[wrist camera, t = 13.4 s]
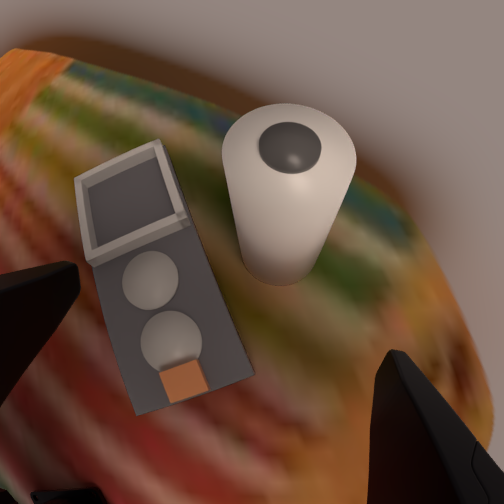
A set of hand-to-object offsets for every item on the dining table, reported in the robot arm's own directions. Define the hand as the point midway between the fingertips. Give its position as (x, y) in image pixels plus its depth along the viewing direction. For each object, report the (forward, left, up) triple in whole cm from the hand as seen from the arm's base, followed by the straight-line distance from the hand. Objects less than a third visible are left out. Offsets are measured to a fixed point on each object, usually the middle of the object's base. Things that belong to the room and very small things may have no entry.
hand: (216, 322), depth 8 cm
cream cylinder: (+4, +4, -9) cm, 11 cm away
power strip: (-3, +6, -9) cm, 11 cm away
